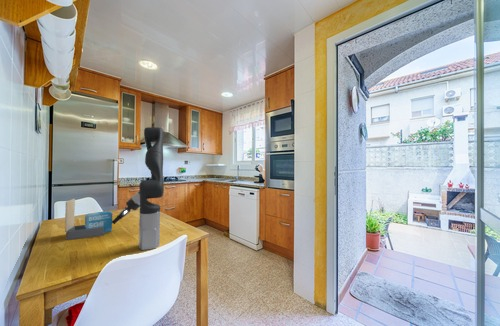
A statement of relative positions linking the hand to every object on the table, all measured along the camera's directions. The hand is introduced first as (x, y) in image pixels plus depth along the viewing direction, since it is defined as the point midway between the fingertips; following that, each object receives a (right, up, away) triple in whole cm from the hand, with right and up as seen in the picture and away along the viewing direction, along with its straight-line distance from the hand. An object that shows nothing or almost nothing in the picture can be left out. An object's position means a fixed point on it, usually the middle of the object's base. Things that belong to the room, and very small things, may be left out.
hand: (113, 222), depth 113 cm
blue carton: (-6, -5, -3) cm, 9 cm away
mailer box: (-10, -5, -5) cm, 13 cm away
